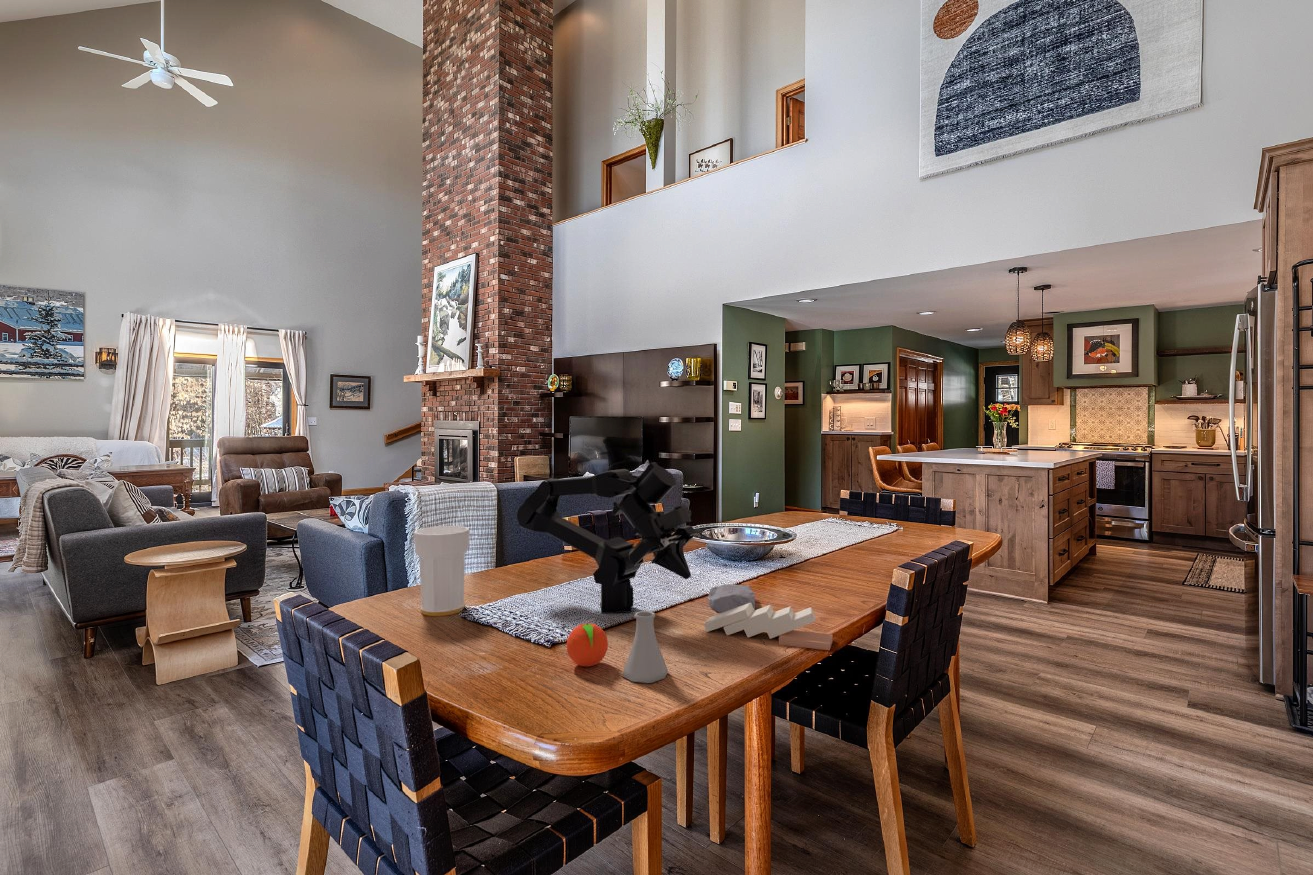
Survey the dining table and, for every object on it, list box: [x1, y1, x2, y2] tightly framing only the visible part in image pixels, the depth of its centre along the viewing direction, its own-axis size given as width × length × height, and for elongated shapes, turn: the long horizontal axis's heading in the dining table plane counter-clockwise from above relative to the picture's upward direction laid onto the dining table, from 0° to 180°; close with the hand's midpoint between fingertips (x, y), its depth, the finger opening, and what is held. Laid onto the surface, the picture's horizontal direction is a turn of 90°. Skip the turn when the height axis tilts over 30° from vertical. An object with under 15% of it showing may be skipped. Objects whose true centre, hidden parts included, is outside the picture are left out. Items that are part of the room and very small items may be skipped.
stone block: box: [707, 583, 756, 614], centre depth 141 cm, size 12×5×10 cm
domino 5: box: [778, 629, 833, 651], centre depth 117 cm, size 2×5×9 cm
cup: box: [413, 525, 470, 617], centre depth 138 cm, size 11×11×17 cm
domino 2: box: [723, 604, 775, 636], centre depth 122 cm, size 2×5×9 cm
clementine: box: [566, 622, 609, 667], centre depth 106 cm, size 8×7×7 cm
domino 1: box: [703, 603, 754, 633], centre depth 124 cm, size 2×5×9 cm
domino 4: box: [766, 606, 816, 639], centre depth 120 cm, size 2×5×9 cm
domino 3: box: [744, 605, 794, 638], centre depth 121 cm, size 2×5×9 cm
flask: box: [621, 610, 669, 684], centre depth 103 cm, size 7×7×10 cm
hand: (688, 577), depth 128 cm, fingers closed
